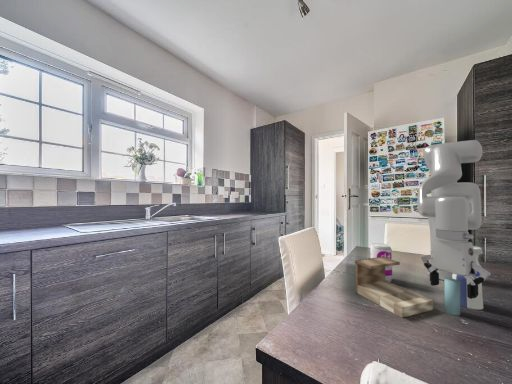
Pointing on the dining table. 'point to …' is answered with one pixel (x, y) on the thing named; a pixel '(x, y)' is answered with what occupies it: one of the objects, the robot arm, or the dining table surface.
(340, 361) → the dining table surface
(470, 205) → the robot arm
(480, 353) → the dining table surface
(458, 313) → the peg
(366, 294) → the socket block
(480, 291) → the water bottle
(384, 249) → the supplement can
